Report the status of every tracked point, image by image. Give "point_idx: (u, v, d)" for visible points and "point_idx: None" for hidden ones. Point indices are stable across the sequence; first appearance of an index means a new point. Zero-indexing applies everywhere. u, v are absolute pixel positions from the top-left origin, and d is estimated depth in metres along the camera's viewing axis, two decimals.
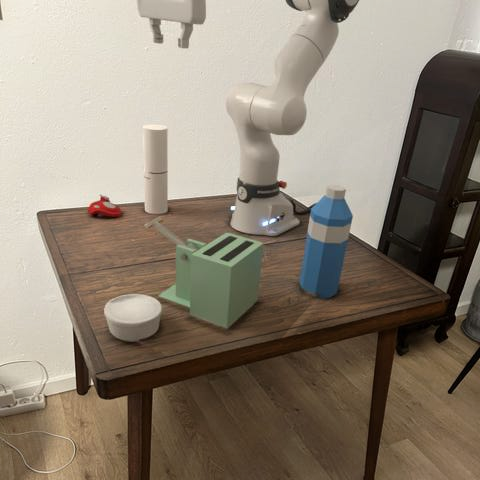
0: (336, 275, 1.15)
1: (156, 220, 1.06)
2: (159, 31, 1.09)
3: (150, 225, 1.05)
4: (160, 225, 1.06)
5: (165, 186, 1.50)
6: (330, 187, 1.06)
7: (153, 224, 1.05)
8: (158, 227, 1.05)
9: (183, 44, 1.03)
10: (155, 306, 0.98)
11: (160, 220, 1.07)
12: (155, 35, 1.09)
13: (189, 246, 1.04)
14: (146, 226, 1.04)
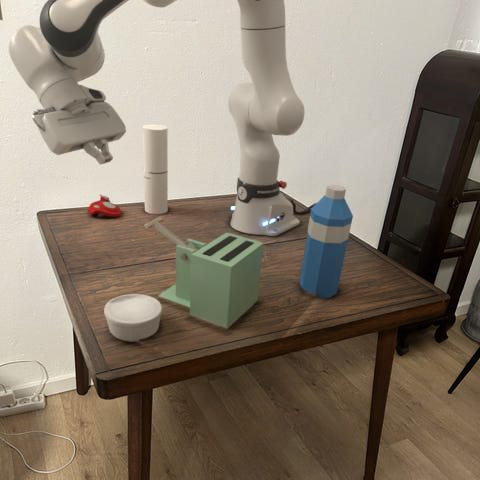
0: (336, 275, 1.15)
1: (156, 220, 1.06)
2: (105, 149, 1.05)
3: (150, 225, 1.05)
4: (160, 225, 1.06)
5: (165, 186, 1.50)
6: (330, 187, 1.06)
7: (153, 224, 1.05)
8: (158, 227, 1.05)
9: (99, 161, 1.04)
10: (155, 306, 0.98)
11: (160, 220, 1.07)
12: None
13: (189, 246, 1.04)
14: (146, 226, 1.04)
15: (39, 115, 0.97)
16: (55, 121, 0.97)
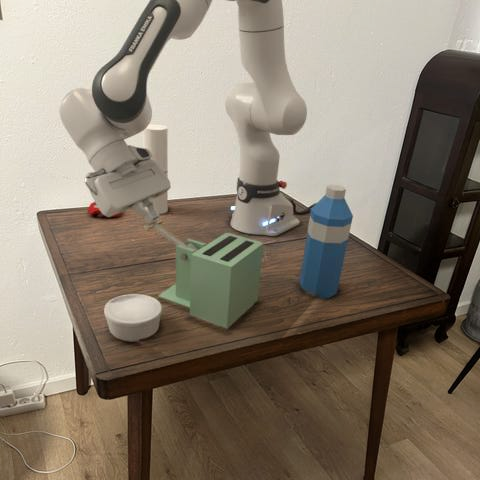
0: (336, 275, 1.15)
1: (155, 222, 1.07)
2: (152, 208, 1.06)
3: (149, 227, 1.05)
4: (159, 227, 1.06)
5: None
6: (330, 187, 1.06)
7: (152, 226, 1.06)
8: (158, 229, 1.06)
9: (146, 220, 1.05)
10: (155, 306, 0.98)
11: (159, 222, 1.08)
12: None
13: (189, 246, 1.04)
14: (145, 228, 1.04)
15: (91, 179, 0.97)
16: (107, 185, 0.98)
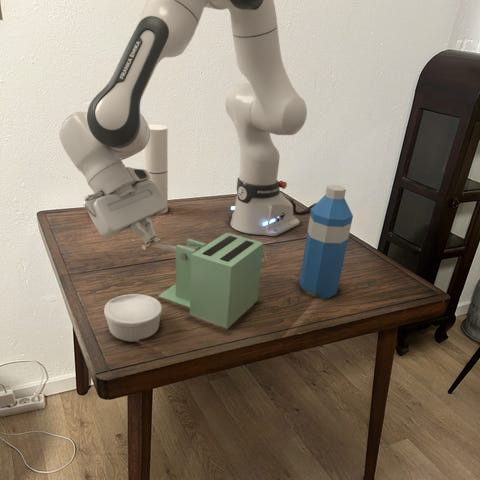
0: (336, 275, 1.15)
1: (153, 241, 1.09)
2: (149, 228, 1.09)
3: (147, 245, 1.08)
4: (157, 242, 1.08)
5: (165, 186, 1.50)
6: (330, 187, 1.06)
7: (150, 244, 1.08)
8: (156, 244, 1.08)
9: (144, 240, 1.08)
10: (155, 306, 0.98)
11: (157, 240, 1.10)
12: None
13: (186, 246, 1.05)
14: (143, 247, 1.07)
15: (90, 201, 1.00)
16: (105, 207, 1.01)
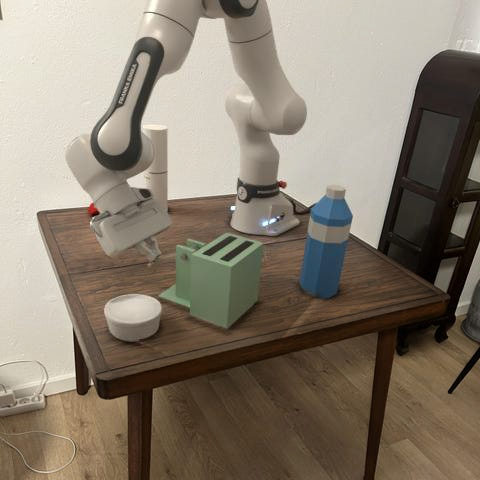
0: (336, 275, 1.15)
1: (157, 259, 1.11)
2: (154, 246, 1.11)
3: (151, 263, 1.09)
4: (160, 258, 1.10)
5: (165, 186, 1.50)
6: (330, 187, 1.06)
7: (154, 262, 1.10)
8: (159, 260, 1.10)
9: (149, 258, 1.10)
10: (155, 306, 0.98)
11: (161, 257, 1.12)
12: None
13: None
14: (148, 266, 1.09)
15: (96, 222, 1.02)
16: (111, 228, 1.02)
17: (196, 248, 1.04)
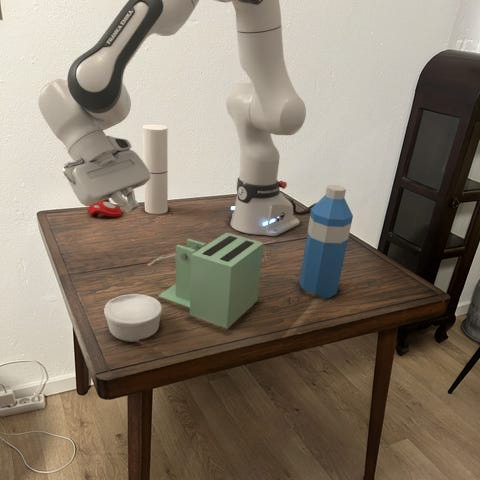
0: (336, 275, 1.15)
1: (157, 259, 1.11)
2: (131, 198, 1.07)
3: (151, 263, 1.09)
4: (160, 258, 1.10)
5: (165, 186, 1.50)
6: (330, 187, 1.06)
7: (154, 262, 1.10)
8: (159, 260, 1.10)
9: (126, 209, 1.06)
10: (155, 306, 0.98)
11: (161, 257, 1.12)
12: None
13: None
14: (148, 266, 1.09)
15: (69, 168, 0.99)
16: (85, 174, 0.99)
17: (196, 248, 1.04)
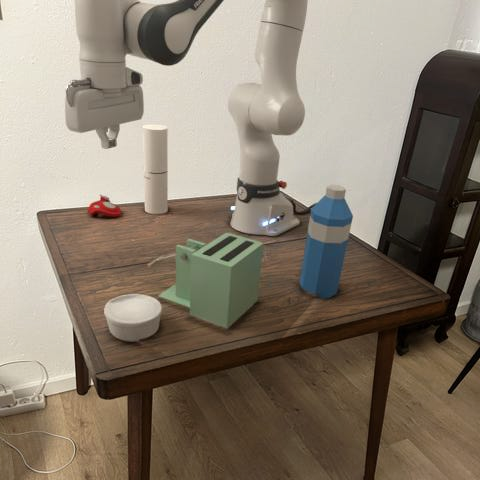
0: (336, 275, 1.15)
1: (157, 259, 1.11)
2: (114, 136, 1.05)
3: (151, 263, 1.09)
4: (160, 258, 1.10)
5: (165, 186, 1.50)
6: (330, 187, 1.06)
7: (154, 262, 1.10)
8: (159, 260, 1.10)
9: (102, 144, 1.05)
10: (155, 306, 0.98)
11: (161, 257, 1.12)
12: None
13: None
14: (148, 266, 1.09)
15: (74, 88, 0.93)
16: (86, 104, 0.94)
17: (196, 248, 1.04)
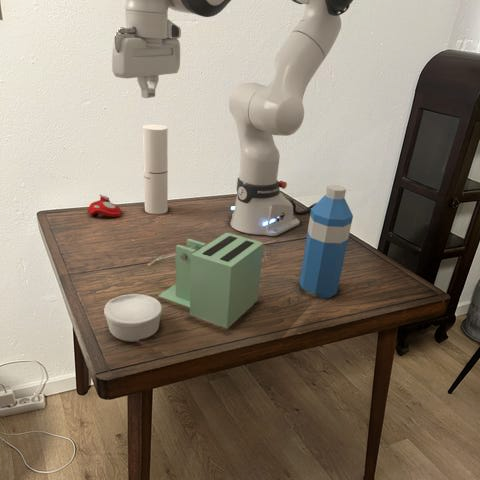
0: (336, 275, 1.15)
1: (157, 259, 1.11)
2: (153, 86, 1.13)
3: (151, 263, 1.09)
4: (160, 258, 1.10)
5: (165, 186, 1.50)
6: (330, 187, 1.06)
7: (154, 262, 1.10)
8: (159, 260, 1.10)
9: (142, 94, 1.12)
10: (155, 306, 0.98)
11: (161, 257, 1.12)
12: None
13: None
14: (148, 266, 1.09)
15: (121, 35, 1.00)
16: (131, 51, 1.02)
17: (196, 248, 1.04)
